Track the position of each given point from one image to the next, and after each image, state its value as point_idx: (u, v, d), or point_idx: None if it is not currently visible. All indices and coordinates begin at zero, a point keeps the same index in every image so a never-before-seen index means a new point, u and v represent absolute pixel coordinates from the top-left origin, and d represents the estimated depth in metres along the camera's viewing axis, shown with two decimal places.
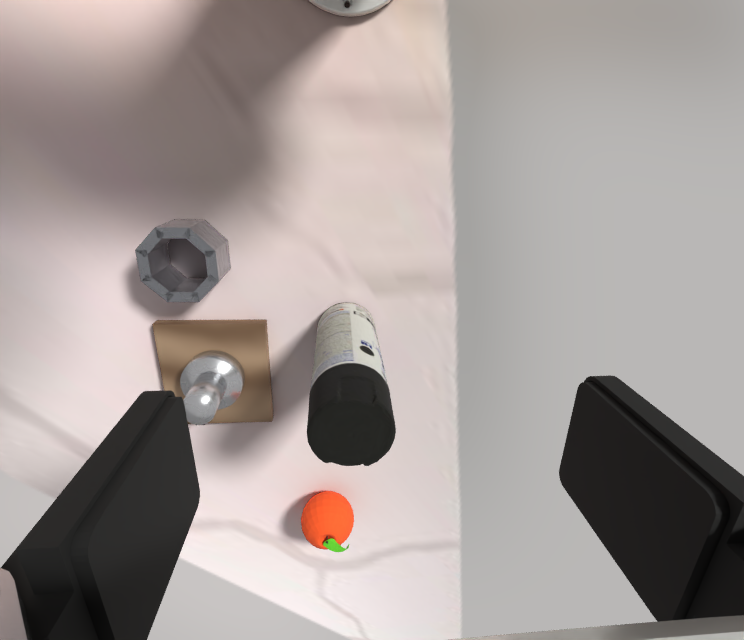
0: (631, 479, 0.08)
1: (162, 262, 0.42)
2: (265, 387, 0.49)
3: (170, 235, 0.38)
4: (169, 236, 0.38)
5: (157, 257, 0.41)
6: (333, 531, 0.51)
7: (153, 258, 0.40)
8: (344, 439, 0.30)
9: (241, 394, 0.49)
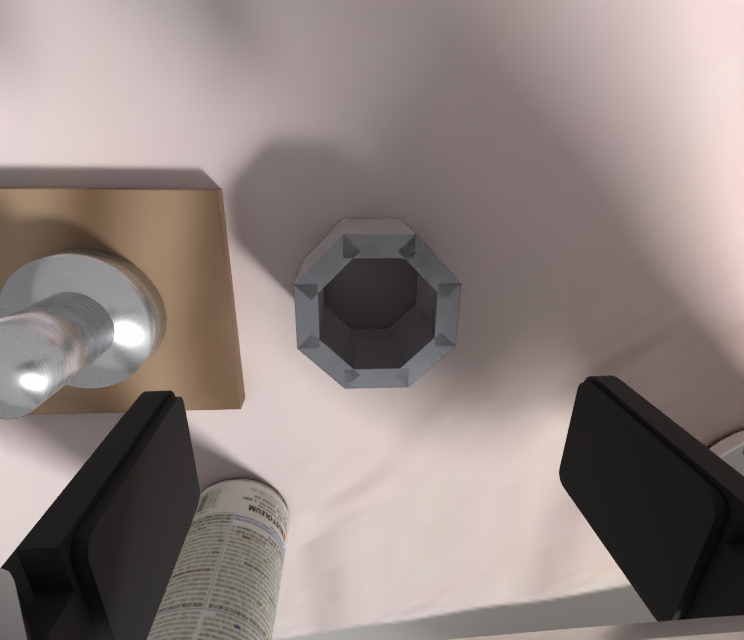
0: (631, 479, 0.08)
1: None
2: (89, 405, 0.23)
3: (442, 310, 0.18)
4: (440, 307, 0.18)
5: None
6: None
7: None
8: None
9: None
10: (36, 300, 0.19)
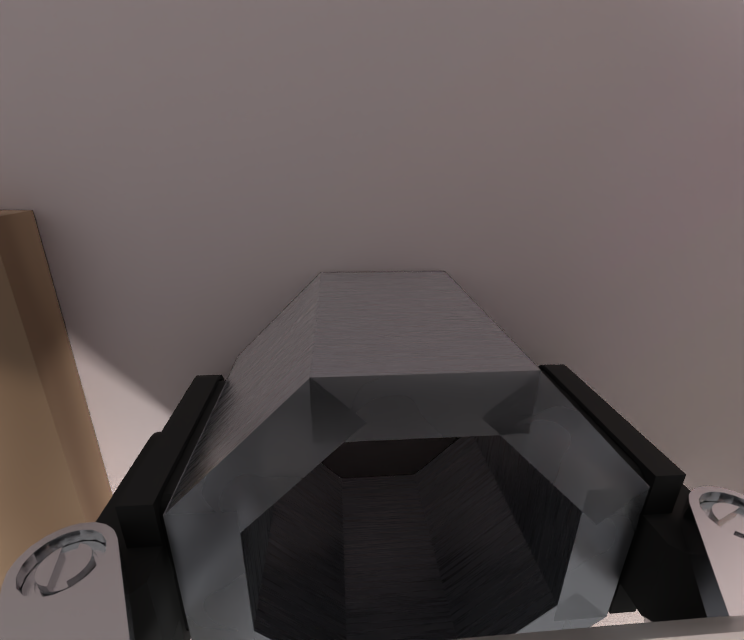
0: None
1: None
2: None
3: (588, 548, 0.07)
4: (583, 544, 0.07)
5: None
6: None
7: None
8: None
9: None
10: None
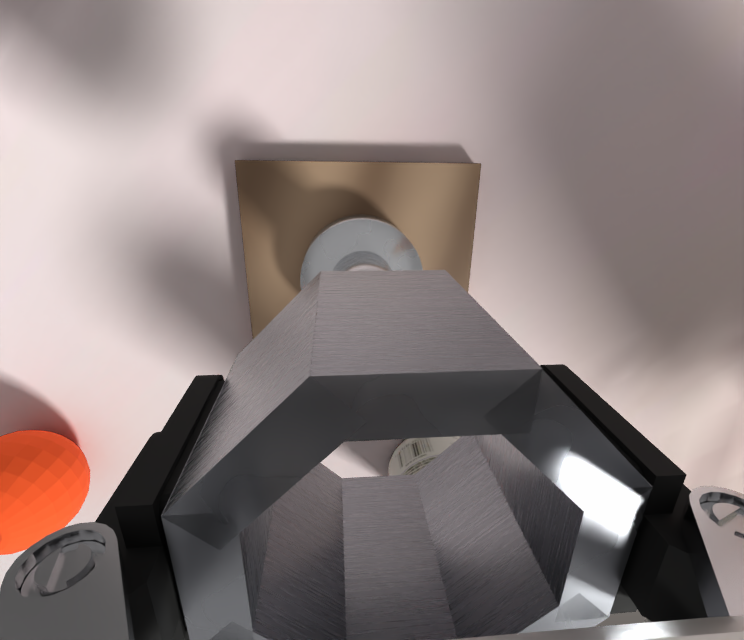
0: None
1: None
2: None
3: (590, 548, 0.07)
4: (586, 544, 0.07)
5: None
6: (11, 541, 0.22)
7: None
8: None
9: None
10: (335, 258, 0.22)
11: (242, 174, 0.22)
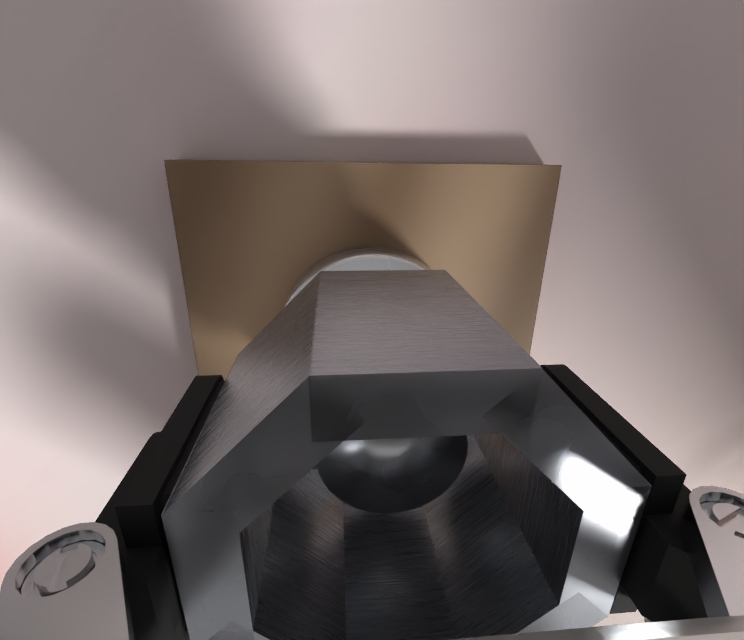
0: None
1: None
2: None
3: (589, 548, 0.07)
4: (585, 544, 0.07)
5: None
6: None
7: None
8: None
9: None
10: None
11: (178, 183, 0.13)
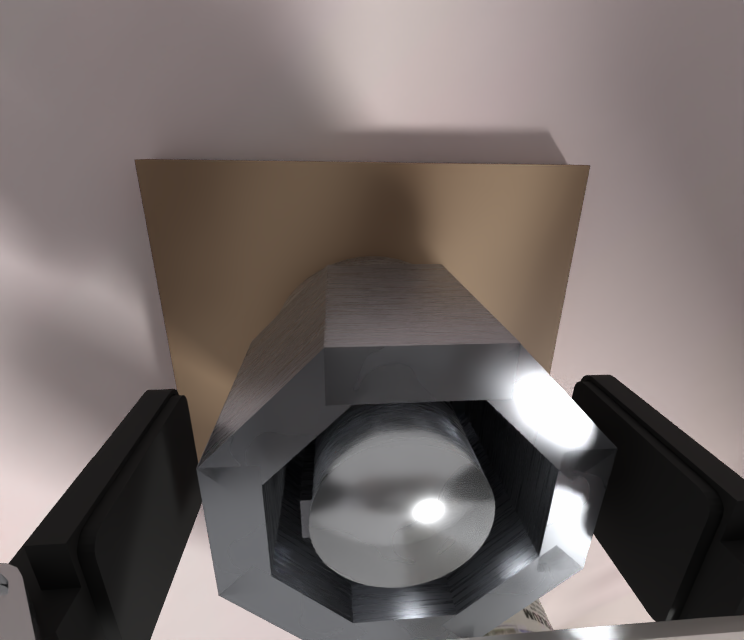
0: (627, 477, 0.08)
1: None
2: None
3: (565, 504, 0.08)
4: (561, 500, 0.08)
5: None
6: None
7: None
8: None
9: None
10: None
11: (151, 186, 0.11)
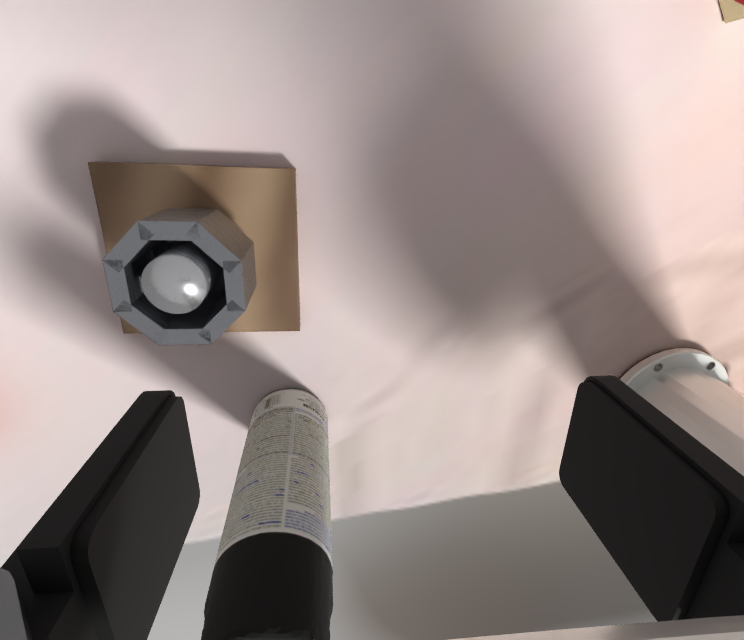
0: (631, 479, 0.08)
1: None
2: None
3: (229, 282, 0.23)
4: (227, 280, 0.23)
5: None
6: None
7: None
8: None
9: None
10: (172, 243, 0.27)
11: (95, 173, 0.27)
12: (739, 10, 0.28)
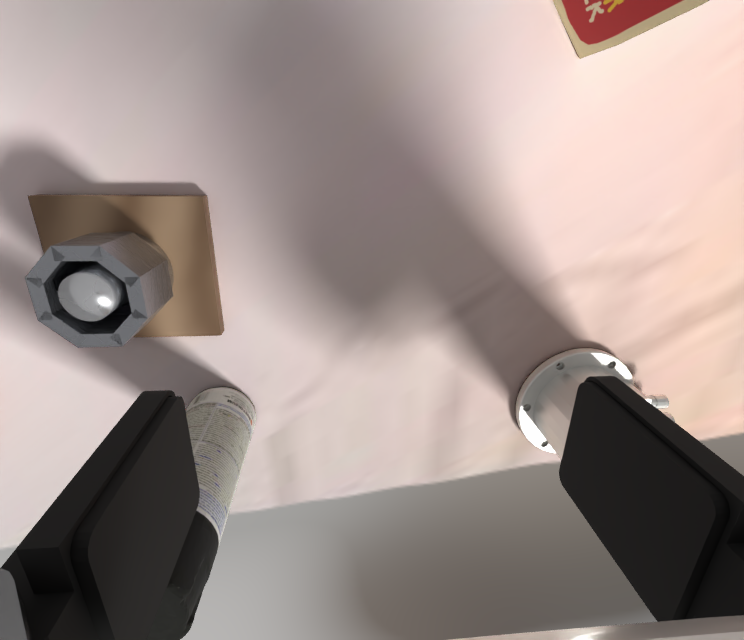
0: (631, 479, 0.08)
1: None
2: None
3: (131, 294, 0.28)
4: (130, 293, 0.28)
5: None
6: None
7: None
8: None
9: None
10: None
11: (34, 205, 0.32)
12: (586, 48, 0.31)
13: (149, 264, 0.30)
